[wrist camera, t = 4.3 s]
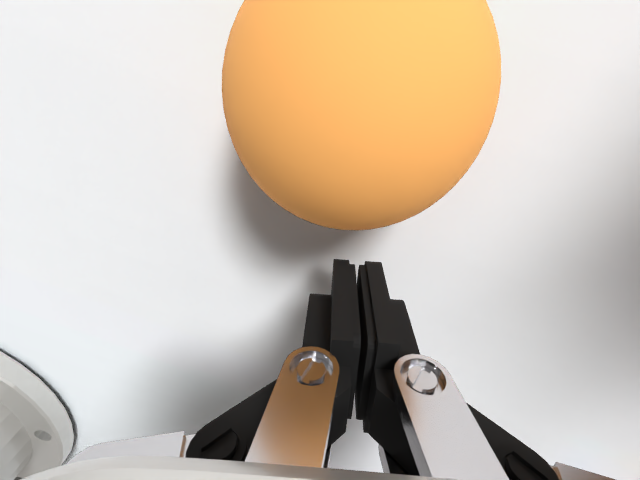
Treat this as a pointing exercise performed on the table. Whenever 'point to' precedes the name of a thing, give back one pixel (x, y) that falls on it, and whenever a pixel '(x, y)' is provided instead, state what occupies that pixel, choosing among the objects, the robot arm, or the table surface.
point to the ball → (360, 103)
